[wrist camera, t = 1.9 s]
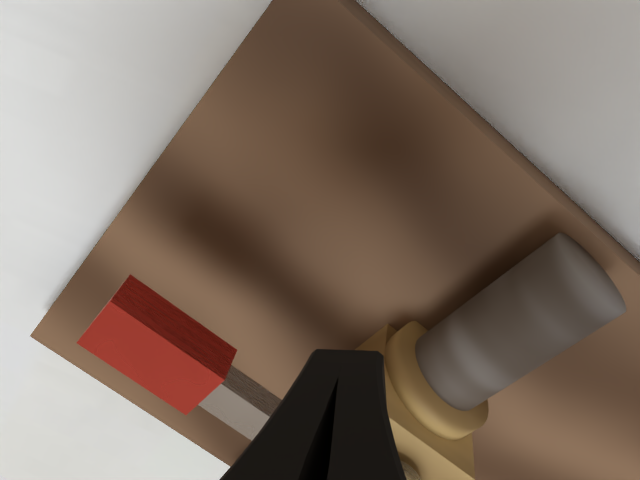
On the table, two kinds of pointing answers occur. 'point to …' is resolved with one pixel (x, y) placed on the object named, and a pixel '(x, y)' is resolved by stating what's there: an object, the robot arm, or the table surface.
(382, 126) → the valve board
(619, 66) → the table surface
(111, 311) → the valve lever
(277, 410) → the robot arm
